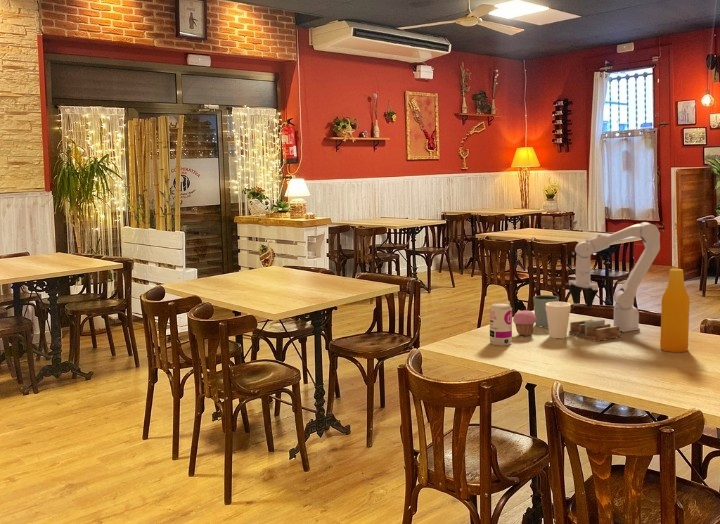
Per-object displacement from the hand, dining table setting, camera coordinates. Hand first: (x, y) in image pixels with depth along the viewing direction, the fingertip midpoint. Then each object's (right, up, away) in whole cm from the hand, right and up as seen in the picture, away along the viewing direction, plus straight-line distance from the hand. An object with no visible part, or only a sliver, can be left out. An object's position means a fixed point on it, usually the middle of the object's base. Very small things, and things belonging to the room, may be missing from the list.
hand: (582, 305), depth 292 cm
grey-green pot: (-13, -9, +10) cm, 18 cm away
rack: (+1, -11, -10) cm, 15 cm away
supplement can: (-37, -14, -18) cm, 43 cm away
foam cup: (-13, -12, -10) cm, 20 cm away
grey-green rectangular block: (+2, -10, -10) cm, 15 cm away
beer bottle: (+23, -14, -33) cm, 43 cm away
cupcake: (-25, -12, -6) cm, 28 cm away
